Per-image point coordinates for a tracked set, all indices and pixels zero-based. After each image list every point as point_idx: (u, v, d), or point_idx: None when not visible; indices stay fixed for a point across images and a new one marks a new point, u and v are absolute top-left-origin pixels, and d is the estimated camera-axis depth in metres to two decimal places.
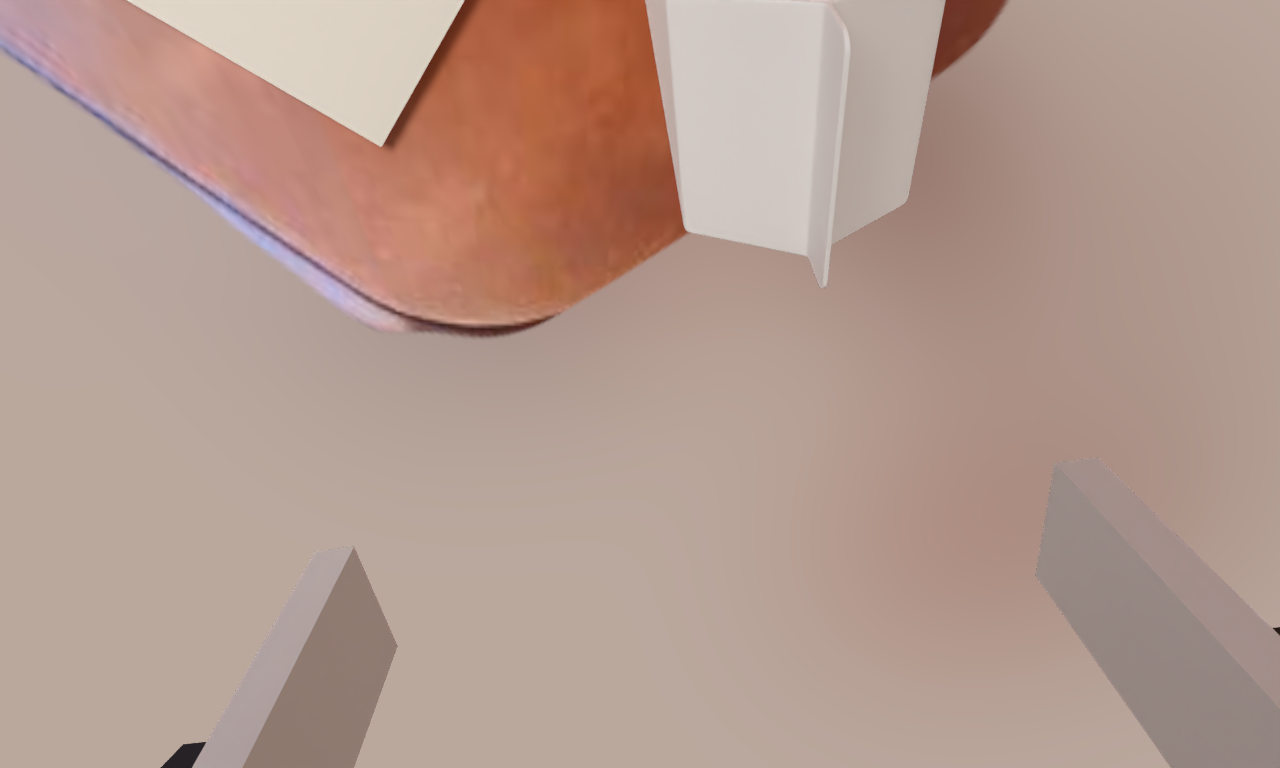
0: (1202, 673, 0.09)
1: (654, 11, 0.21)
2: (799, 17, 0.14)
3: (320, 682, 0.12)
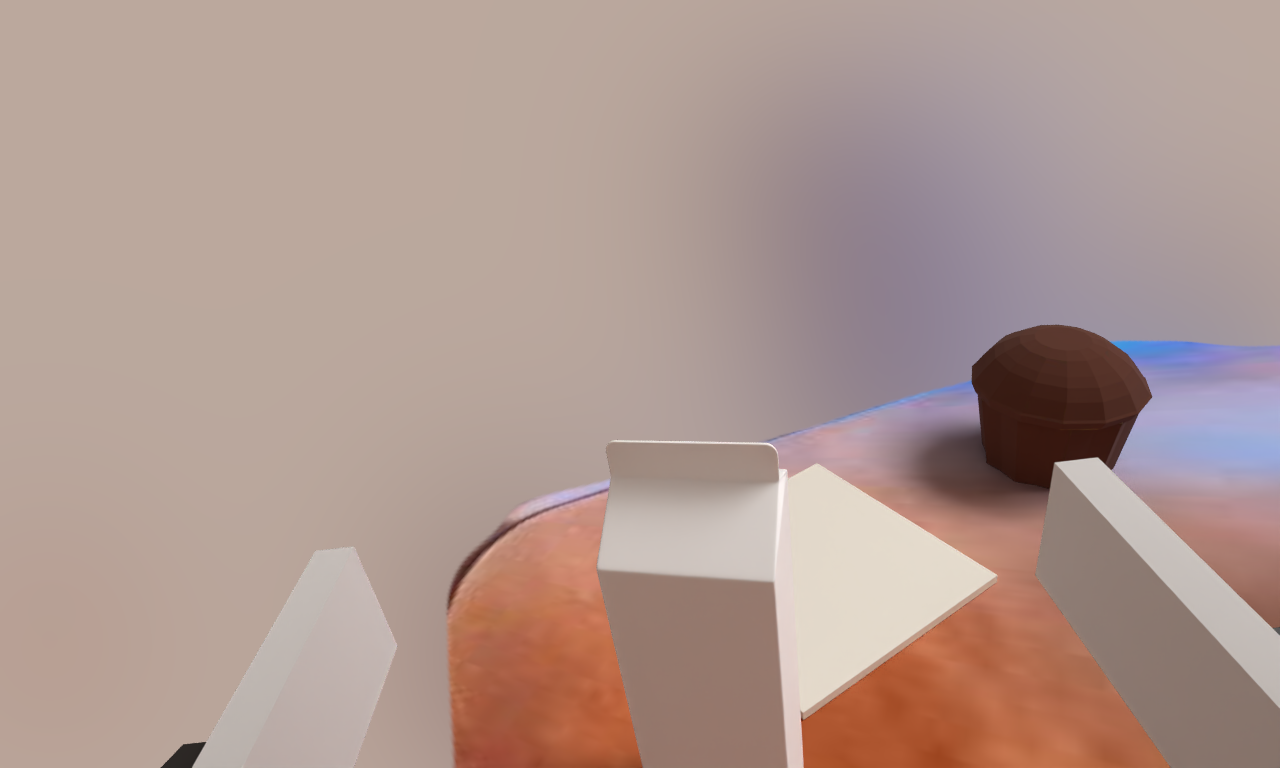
0: (1202, 673, 0.09)
1: None
2: None
3: (320, 682, 0.12)
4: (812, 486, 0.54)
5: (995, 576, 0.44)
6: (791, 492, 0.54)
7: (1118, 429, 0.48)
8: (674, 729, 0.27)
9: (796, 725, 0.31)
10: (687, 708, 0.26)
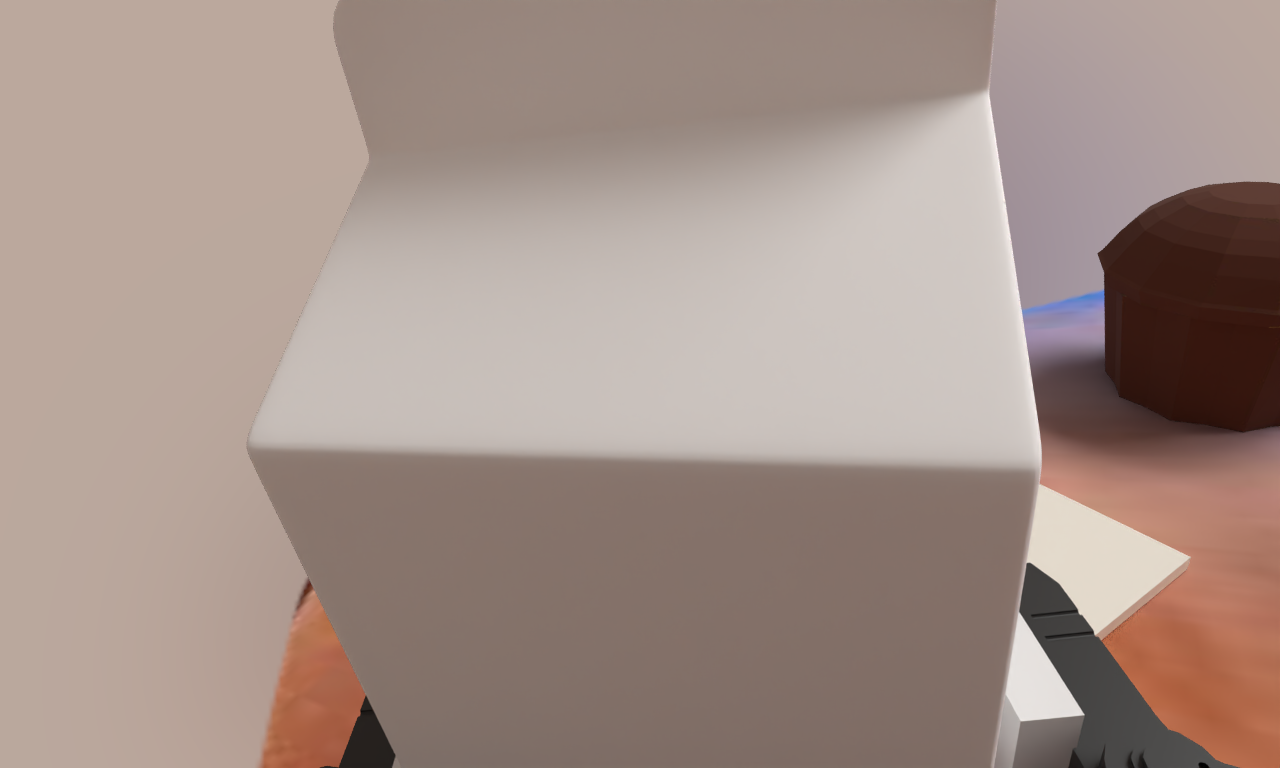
0: None
1: None
2: None
3: None
4: None
5: (1187, 559, 0.26)
6: None
7: None
8: None
9: None
10: None
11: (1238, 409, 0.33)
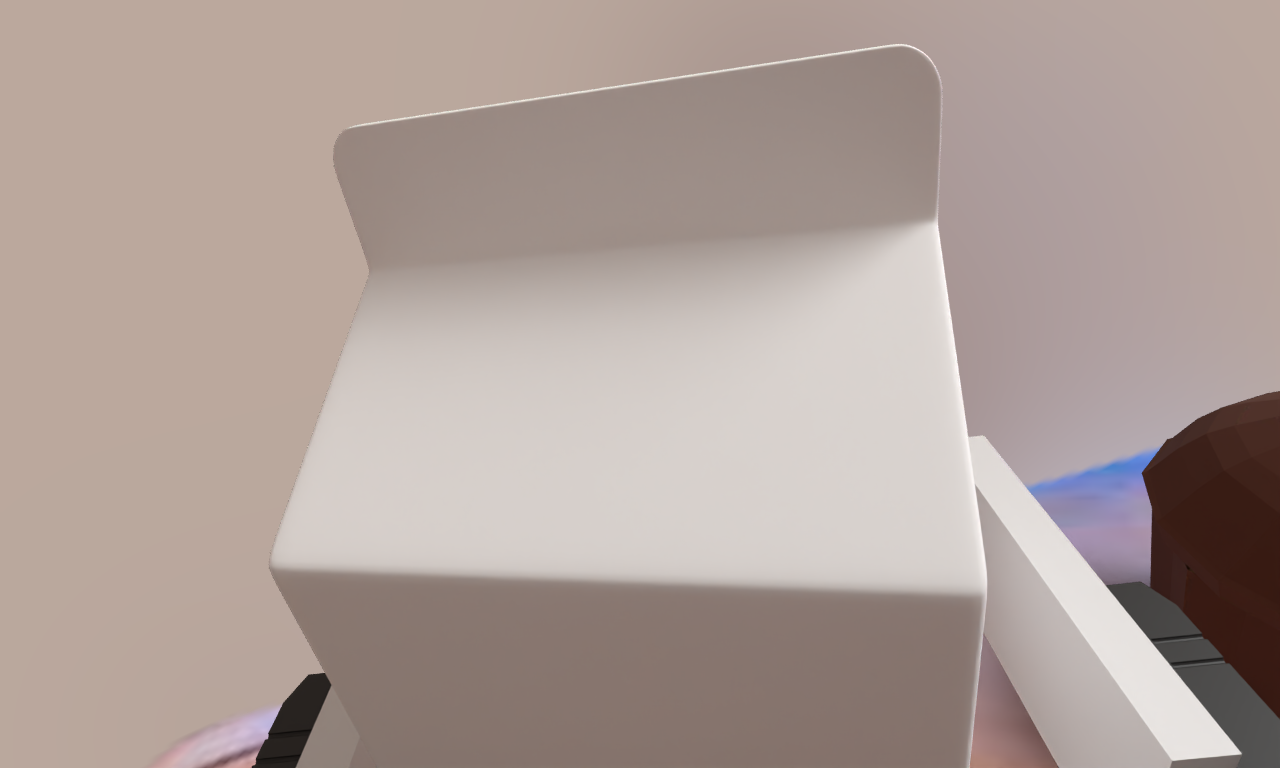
0: (1044, 624, 0.10)
1: None
2: None
3: None
4: None
5: None
6: None
7: None
8: None
9: None
10: None
11: None
